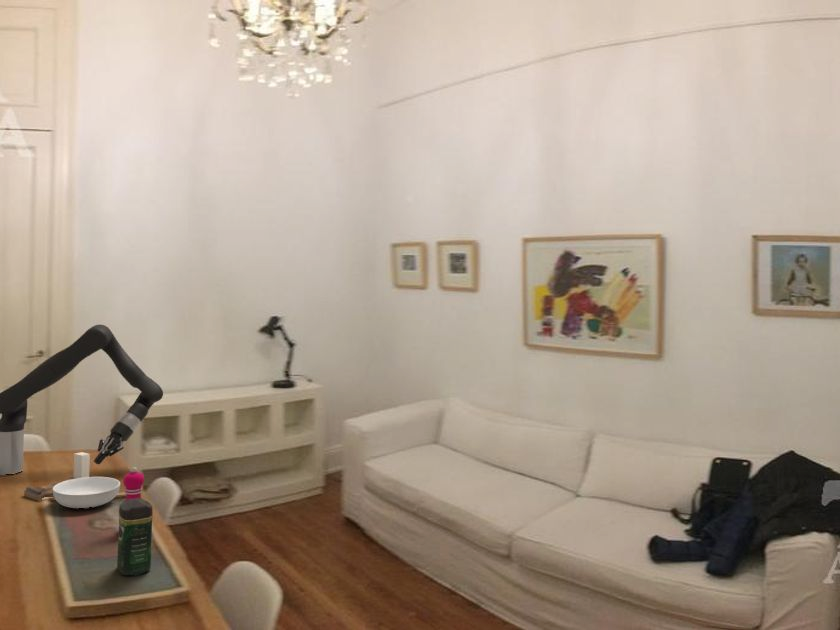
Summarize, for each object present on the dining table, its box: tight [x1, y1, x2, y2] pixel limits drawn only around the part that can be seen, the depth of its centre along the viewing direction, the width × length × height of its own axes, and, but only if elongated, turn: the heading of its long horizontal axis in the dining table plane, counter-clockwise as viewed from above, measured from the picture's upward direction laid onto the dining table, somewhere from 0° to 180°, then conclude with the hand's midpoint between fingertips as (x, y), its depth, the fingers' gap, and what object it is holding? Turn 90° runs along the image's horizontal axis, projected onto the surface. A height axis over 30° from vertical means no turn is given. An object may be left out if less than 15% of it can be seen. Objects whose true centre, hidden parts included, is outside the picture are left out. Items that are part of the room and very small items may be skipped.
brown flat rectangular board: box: [23, 475, 93, 502], centre depth 234 cm, size 22×10×3 cm, turn 150°
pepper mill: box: [122, 466, 145, 500], centre depth 198 cm, size 7×7×20 cm
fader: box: [70, 451, 91, 480], centre depth 239 cm, size 4×6×10 cm
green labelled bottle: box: [116, 498, 154, 576], centre depth 171 cm, size 10×8×19 cm
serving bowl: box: [53, 476, 121, 509], centre depth 221 cm, size 21×21×7 cm
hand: (96, 463), depth 244 cm, fingers closed
